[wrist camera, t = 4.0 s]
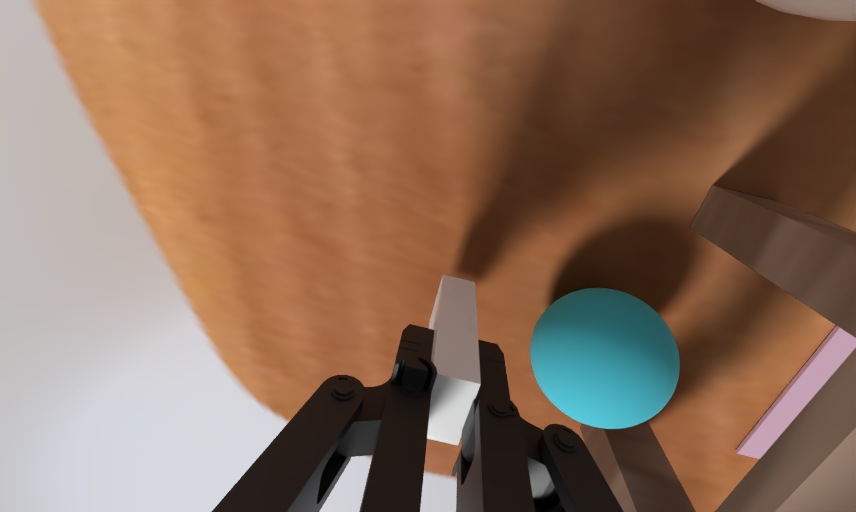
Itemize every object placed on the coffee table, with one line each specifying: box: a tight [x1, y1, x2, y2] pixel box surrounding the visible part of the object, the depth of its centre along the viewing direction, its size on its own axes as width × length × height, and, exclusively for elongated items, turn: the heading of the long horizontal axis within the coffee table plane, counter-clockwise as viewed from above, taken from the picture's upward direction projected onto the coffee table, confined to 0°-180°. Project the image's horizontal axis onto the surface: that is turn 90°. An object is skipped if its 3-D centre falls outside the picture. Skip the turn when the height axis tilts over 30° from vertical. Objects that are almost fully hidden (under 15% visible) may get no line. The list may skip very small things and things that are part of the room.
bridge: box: [580, 186, 856, 512], centre depth 16 cm, size 3×15×10 cm, turn 167°
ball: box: [530, 288, 680, 429], centre depth 18 cm, size 6×6×6 cm
